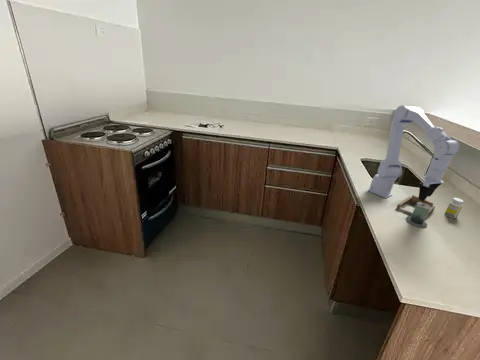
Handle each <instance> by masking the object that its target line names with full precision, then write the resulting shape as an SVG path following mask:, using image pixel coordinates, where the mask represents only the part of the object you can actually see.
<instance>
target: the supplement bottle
mask: <svg viewBox="0 0 480 360" xmlns="http://www.w3.org/2000/svg"><path fill="white" fill-rule="evenodd" d="M463 204H464V200H463V199H461V198H459V197H453V198H452V200H451V201H450V202H449V204H448V206H447V208H446V210H445V212H444V215H446V216H447V217H449V218H452V219H456V218H457V217H458V216H459V214H460V212H461V210H462V208H463Z"/></svg>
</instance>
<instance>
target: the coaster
mask: <svg viewBox="0 0 480 360" xmlns="http://www.w3.org/2000/svg"><path fill="white" fill-rule="evenodd" d="M405 217H406V218H405V221H406V222H407V223H408V224H409V225H411V226H414V227H417V228H421V229H426V228H427V227H428V223H427V221H426V220H425V221H424V223H423V224H422V225H420V224H416V223H414V222H412V221H411V220H410V218H411V215H408V216H405Z"/></svg>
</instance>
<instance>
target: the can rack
mask: <svg viewBox="0 0 480 360" xmlns="http://www.w3.org/2000/svg"><path fill="white" fill-rule="evenodd" d="M418 198H419V195H415V194H412V196H408V197H407V198H405V199H404V200H402V201H400V202H398V203H397V205H396V209H395V210H398V211H400V212H402V213H404V214H407V215H408V216H412V213H413V211H409V210H407V209H405V208H404V207H405V206H407V205H408V204H409V203H410V204H412V205H415V206H416V204H417V202H423V203H426V204H428V205H430V206H431V208H430V210H429V212H428V214H427V216H426V218H428V217H429V216H430V215H431V214H432V213H433V212H434V210H435V209H436V206H434V202H433V201H431V200H427V199H425V200H424V201H422V200H419V199H418Z"/></svg>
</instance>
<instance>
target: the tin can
mask: <svg viewBox="0 0 480 360" xmlns="http://www.w3.org/2000/svg"><path fill="white" fill-rule="evenodd" d="M430 208H431V206H430V205H428V204H426V203H423V202H417V204H416V205H415V206H414V209H413V211H412V216H411V215H410V216H411V218H410V220H411V221H412V222H414V223H416V224H420V225H422V224H423V223H424V221H425V222H426V219H427V217H428V216H427V214H428V212H429V210H430ZM426 216H427V217H426Z"/></svg>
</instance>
